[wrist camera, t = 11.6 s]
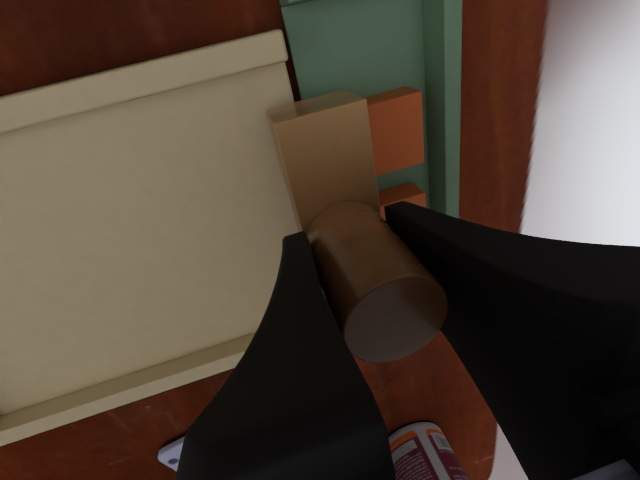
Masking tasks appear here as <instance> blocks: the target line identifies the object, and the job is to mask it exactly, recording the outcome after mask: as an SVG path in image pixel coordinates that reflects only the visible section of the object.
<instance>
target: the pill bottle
mask: <svg viewBox="0 0 640 480" xmlns="http://www.w3.org/2000/svg"><path fill="white" fill-rule="evenodd" d="M389 443H390V449H391V454H392V460H393V465H394V471H395V476H396V480H469V479H468V477H467V476H466V474H465V472H464V470H463V469H462V467H461V465H460V463H459V461H458V460H457V458H456V456H455V454H454V452H453V451H452V449H451V447H450V445H449V443H448V442H447V440H446V438H445V436H444V435H443V433H442V431H441V429H440V428H439V427H438V426H437V425H436V424H433V423H430V422H419V423H413V424H410V425H407V426H404V427H402V428H400V429H399V430H397V431H396V432H394V433H393V434H392V435H391V436H389Z"/></svg>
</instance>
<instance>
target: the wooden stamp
mask: <svg viewBox="0 0 640 480" xmlns="http://www.w3.org/2000/svg"><path fill="white" fill-rule="evenodd" d="M265 113H266V117H267V120H268V124H269V127H270V131H271V135H272V138H273V142H274V145H275V149H276V153H277V156H278V160H279V163H280V167H281V170H282V174H283V178H284V181H285V185H286V188H287V192H288V196H289V199H290V203H291V206H292V210H293V214H294V217H295V221H296V224H297V228H298V232H301V231H304V232H305V234H306V235H307V237H308V239H309V242H310V246H311V250H312V254H313V257H314V261H315V265H316V269H317V273H318V277H319V281H320V285H321V288H322V291H323V294H324V296H325V298H326V301H327V303H328V305H329V308H330V310H331V312H332V314H333V316H334V319H335V321H336V323H337V325H338V327H339V329H340V331H341V333H342V336H343V338H344V340H345V342H346V344H347V346H348V348H349V350H350V352H351V354H352V355H354V356H355V357H357V358H359V359H361V360H364V361H368V362H375V363H381V362H390V361H394V360H398V359H401V358H404V357H406V356H408V355H410V354H412V353H414V352H416V351H418V350H419V349H421V348H422V347H423V346H425V345H426V344H427V343H428V342H430V341H431V340H432V339H433V338H434V337H435V335H436V334H437V333H438V332H439V330H440V329H441V327H442V326H443V324H444V322H445V319H446V317H447V313H448V306H449V304H448V297H447V294H446V291H445V289H444V288H443V287H442V285H441V284H440V283H439V282H438V281H437V279H436V278H435V277H434V276H433V275H432V274H431V273H430V271H429V270H428V269H427V268H426V267H425V266H424V265H423V263H422V262H421V261H420V260H419V259H418V258H417V257H416V255H415V254H414V253H413V252H412V251H411V250H410V249H409V247H408V246H407V245H406V244H405V243H404V242H403V241H402V239H401V238H400V237H399V236H398V235H397V234H396V233H395V231H394V230H393V229H392V228H391V227H390V226H389V225H388V223H387V222H386V221H385V220H384V219H383V218H382V217H381V212H380V204H379V196H378V188H377V179H376V171H375V163H374V155H373V147H372V139H371V131H370V123H369V114H368V106H367V100H366V98H363V97H361V96H359V95H357V94H354V93H352V92H350V91H348V90H345V89H342V90H339V91H335V92H331V93H327V94H324V95H320V96H316V97H312V98H309V99H305V100H301V101H297V102H294V103H290V104H286V105H282V106H279V107H275V108H271V109H267V110H266V111H265Z"/></svg>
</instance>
